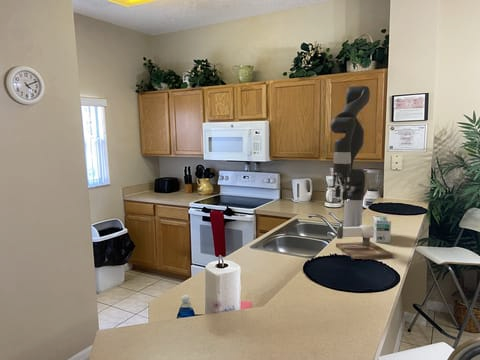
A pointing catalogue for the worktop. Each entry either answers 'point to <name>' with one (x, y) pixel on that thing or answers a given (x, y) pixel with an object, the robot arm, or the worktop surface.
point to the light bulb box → (382, 229)
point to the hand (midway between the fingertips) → (341, 198)
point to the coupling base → (363, 250)
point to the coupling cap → (355, 231)
